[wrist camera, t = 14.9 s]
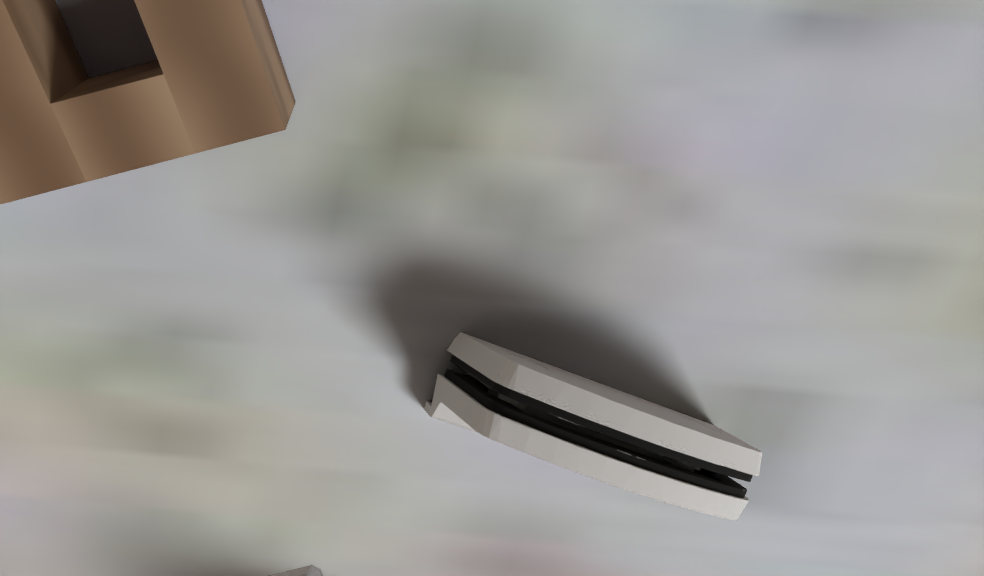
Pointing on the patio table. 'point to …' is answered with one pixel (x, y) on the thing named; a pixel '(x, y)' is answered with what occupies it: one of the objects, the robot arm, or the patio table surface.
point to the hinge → (594, 429)
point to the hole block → (133, 92)
